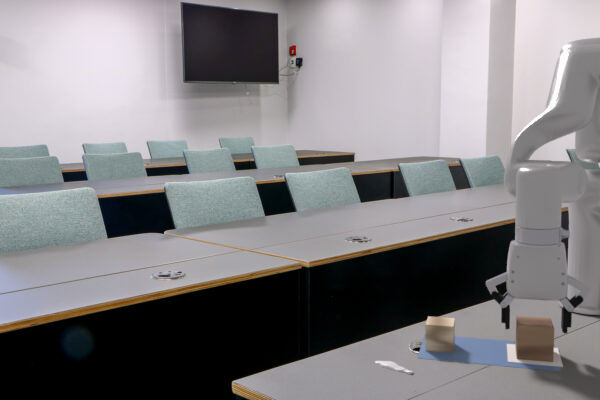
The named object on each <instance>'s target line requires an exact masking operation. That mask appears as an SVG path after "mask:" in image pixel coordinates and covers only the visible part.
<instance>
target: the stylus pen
mask: <svg viewBox="0 0 600 400" xmlns="http://www.w3.org/2000/svg"><path fill="white" fill-rule="evenodd" d="M374 362H375V364H378V365H379V366H380V367H381V368H384V369H387V370H391V371H395V372H400V373H405V374H407V375H412V374H414V370H409V369H407V368H406V367H404V366H401V365H399V364H398V363H396V362H394V361H390V360H375V361H374Z"/></svg>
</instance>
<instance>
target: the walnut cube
mask: <svg viewBox="0 0 600 400" xmlns="http://www.w3.org/2000/svg"><path fill="white" fill-rule="evenodd" d="M515 341H516V342H515V348H516V356H517V359H521V360H533V361H545V362H553V354H554V347H555V327H554V323H553V321H552V318H549V317H548V318H547V317H535V316H522V315H521V316H520V315H516V317H515Z"/></svg>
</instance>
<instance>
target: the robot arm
mask: <svg viewBox="0 0 600 400" xmlns="http://www.w3.org/2000/svg"><path fill="white" fill-rule="evenodd" d="M551 79H552V80H551V84H550V88H549V92H548V96H547V98H546V99H547V100H546V103H545V109H544V111H542V112H541V113H540V114H538V116H536V117H534V118H533V119H532V120H531V121H530V122H529V123H527V125H526V126H525V127H523V128H522V130H521V131H519V132H518V134H517V135H516V137H515V138H514V139H513V142H512V144H511V146H510V150H509V153H508V155H507V156H508V157H507V161H506V164H505V167H504V168H505V169H504V173H503V186H504V189H505V192H506V194H507V195H508V196H509V197H511V198H513V199H515V214H514V216H515V225H514V227H515V228H514V233H515V234H514V239H512V240H511V241H510V243H509V247H508V253H507V260H506V264H507V265H506V271H505V272H503V273H501V274H498V275H496V276H494V277H492V278H489V279H486V281H485V287H487V290H488V291H489V294H490V295H491V297H492V298H493V300H494V301H495V302H496V303H497V304H498V305H499V306H500V308H501V311H500V312H501V318H500V320H501V321H500V323H501V324H504V325H505V326H504V327H505V330H509V329H510V328H511V326H510V324H511V321H510V320H511V319H510V318H511V307H510V304H511V303H512V302H513V301H514V300H515V299H517V300H518V299H519V300H533V301H534V300H535V301H555V302H557V301H558V305H559V306H560V307H561V319H560V320H561V321H560V323H561V324H560V325H561V326H560V328H561V331H562V333H563V334H568V328H569V329H570V328H572V315H573V314H572V313H576V314H582V315H590V316H600V169H597V168H596V169H595V168H593V169H592V168H590V169H588V168H587V169H585V168H584V166H582V165H581V164H579V163H577V162H576V161H575V162H574V161H568V160H567V161H566V160H565V161H564V160H549V159H548V160H545V159H544V160H543V159H530V158H531V157H532V155H533V154H534V153H535V152H536V151H537V150H538V149H540V148H541V147H542V146H544V145H547V144H548V143H551V142H553V141H556V140H558V139H560V138H563V137H566V136H567V135H568V136H569V135H571V134H573V133H574V134H575V135H574V136H575V137H574V148H575V155H576V157H577V159H579V161H581V162H584V163H590V164H600V37H589V38H583V39H576V40H572V41H570V42H567V43H566V44H564V45H563V46H562V47H561V49H560V52H559V56H558V58H557V61H556V64H555V67H554V72H553V76H552V78H551ZM566 203H567V209H568V229H565V228H563V227H562V204H566ZM566 238H567V239H568V242H567V243H568V245H567V247H568V248H567V250H566V245H565V242H562V241H563V240H564V239H566ZM566 251H567V252H566ZM503 283H505V285H506V292H505V293H504V294H503V295H502V294H501V292H500V291H498V290H497V287H496V286H498V285H501V284H503Z"/></svg>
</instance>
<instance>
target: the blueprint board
mask: <svg viewBox="0 0 600 400" xmlns="http://www.w3.org/2000/svg"><path fill="white" fill-rule="evenodd" d="M515 342H516V340H515V341H514V340H505V339H503V340H502V339H491V338H490V339H489V338H478V337H467V336H456V335H455V344H454V350H453V353H447V352H436V351H425V334H424V336H423V338H422V343H421V345H420V348H419V352H418V355H417V359H421V360H431V361H443V362H452V363H455V362H456V363H462V364H463V363H465V364H473V365H474V364H475V365H485V366H497V367H509V368H516V369H517V368H518V369H529V370H541V371H552V372H562V368H564V365H563V361H562V358H561V354H560V352H559V348H558V347H555V346H554V354H553V362H545V361H533V360H521V359H517V356H516V348H515Z"/></svg>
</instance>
